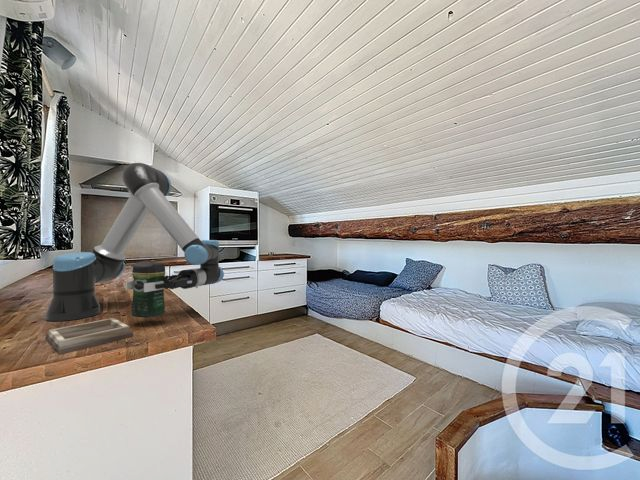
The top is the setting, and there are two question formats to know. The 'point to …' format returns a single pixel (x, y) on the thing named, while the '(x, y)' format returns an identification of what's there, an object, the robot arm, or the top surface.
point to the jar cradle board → (87, 335)
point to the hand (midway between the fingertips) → (135, 286)
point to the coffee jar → (147, 301)
